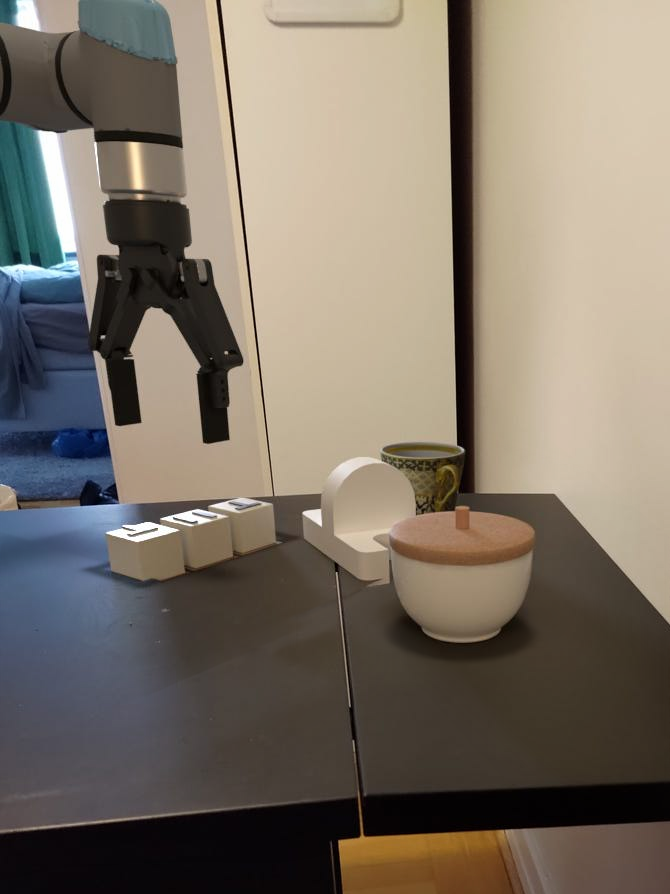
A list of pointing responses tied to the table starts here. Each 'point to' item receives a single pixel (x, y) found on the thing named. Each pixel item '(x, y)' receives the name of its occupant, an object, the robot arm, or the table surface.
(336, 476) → the u-slot stand
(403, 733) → the table surface
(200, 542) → the tile middle
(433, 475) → the ceramic cup
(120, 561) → the tile
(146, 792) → the table surface
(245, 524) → the tile
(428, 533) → the lidded bowl
